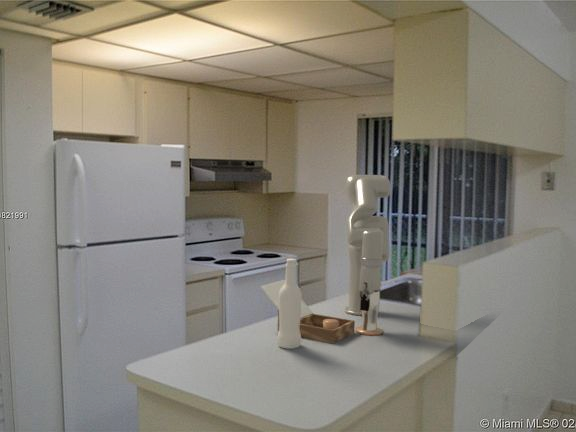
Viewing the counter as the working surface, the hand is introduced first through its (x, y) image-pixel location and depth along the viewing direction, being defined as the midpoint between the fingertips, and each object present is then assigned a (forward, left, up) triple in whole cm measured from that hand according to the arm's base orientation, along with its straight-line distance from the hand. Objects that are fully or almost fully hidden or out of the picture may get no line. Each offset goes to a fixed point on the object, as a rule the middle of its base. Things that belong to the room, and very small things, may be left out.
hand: (369, 308), depth 206 cm
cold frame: (+13, -13, -9) cm, 21 cm away
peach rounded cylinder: (+15, -8, -9) cm, 20 cm away
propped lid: (+13, -29, -9) cm, 33 cm away
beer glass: (0, 0, -8) cm, 9 cm away
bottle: (+33, -15, -9) cm, 37 cm away
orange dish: (0, 0, -9) cm, 9 cm away
